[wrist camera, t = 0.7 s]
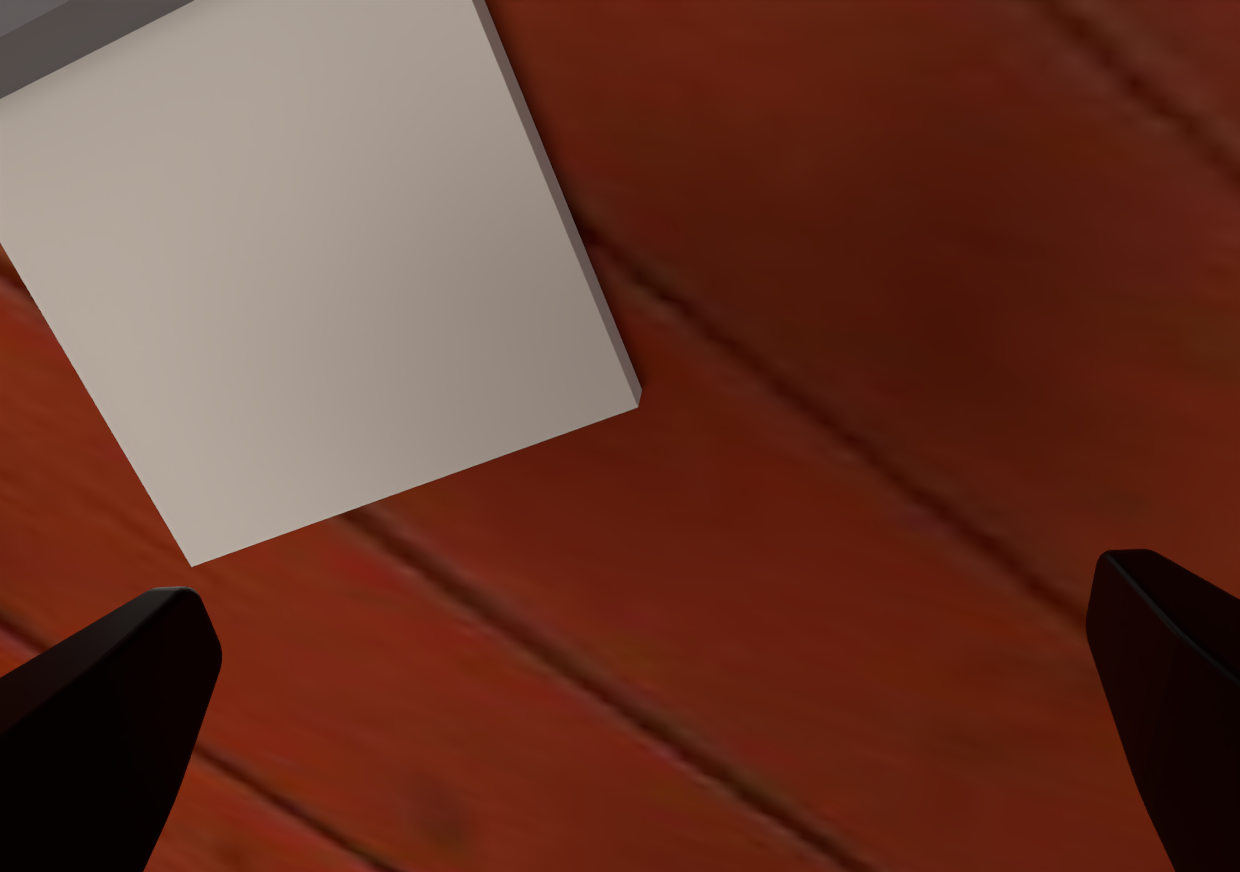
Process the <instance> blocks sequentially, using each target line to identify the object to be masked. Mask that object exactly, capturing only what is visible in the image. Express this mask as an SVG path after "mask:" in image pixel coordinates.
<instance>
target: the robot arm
mask: <svg viewBox="0 0 1240 872" xmlns="http://www.w3.org/2000/svg"><path fill="white" fill-rule="evenodd" d="M1086 634H1087V639H1088V643H1089V647H1090V650H1091V653H1092V656H1093V659H1094V662H1095V665H1096V668H1097V671H1098V674H1099V677H1100V680H1101V683H1102V686H1103V689H1104V692H1105V694H1106V697H1107V700H1108V703H1109V706H1110V709H1111V712H1112V715H1113V718H1114V721H1115V724H1116V727H1117V730H1118V733H1119V736H1120V739H1121V742H1122V745H1123V748H1124V751H1125V754H1126V757H1127V760H1128V763H1129V766H1130V769H1131V772H1132V775H1133V777H1134V780H1135V783H1136V786H1137V788H1138V791H1139V793H1140V795H1141V798H1142V800H1143V802H1144V805H1145V807H1146V809H1147V812H1148V814H1149V816H1150V818H1151V820H1152V823H1153V825H1154V827H1155V829H1156V831H1157V833H1158V835H1159V838H1160V840H1161V842H1162V844H1163V846H1164V848H1165V850H1166V853H1167V855H1168V857H1169V859H1170V861H1171V863H1172V865H1173V867H1174V870H1175V872H1240V599H1238V598H1236V597H1234V596H1233V595H1231V594H1229V593H1227V592H1226V591H1224V590H1222V589H1220V588H1219V587H1217V586H1215V585H1213V584H1211V583H1210V582H1208V581H1206V580H1204V579H1203V578H1201V577H1199V576H1197V575H1196V574H1194V573H1192V572H1190V571H1188V570H1187V569H1185V568H1183V567H1181V566H1180V565H1178V564H1176V563H1174V562H1173V561H1171V560H1169V559H1167V558H1166V557H1164V556H1162V555H1160V554H1158V553H1156V552H1154V551H1152V550H1149V549H1125V550H1108V551H1106V552H1104V553H1103V554H1101V555H1100V557H1099V559H1098V561H1097V564H1096V568H1095V574H1094V579H1093V584H1092V589H1091V594H1090V600H1089V605H1088V610H1087V615H1086ZM221 663H222V650H221V645H220V642H219V639H218V637H217V635H216V632H215V630H214V627H213V625H212V623H211V620H210V618H209V616H208V613H207V611H206V609H205V606H204V604H203V602H202V599H201V597H200V595H199V594H198V593H197V592H196V591H195V590H194V589H192V588H189V587H160V588H154V589H150V590H148V591H146V592H145V593H143V594H141V595H140V596H138V597H136V598H134V599H133V600H131V601H129V602H128V603H126V604H124V605H123V606H121V607H119V608H118V609H116V610H114V611H112V612H111V613H109V614H107V615H106V616H104V617H102V618H101V619H99V620H97V621H96V622H94V623H92V624H91V625H89V626H87V627H85V628H84V629H82V630H80V631H79V632H77V633H75V634H74V635H72V636H70V637H69V638H67V639H65V640H63V641H62V642H60V643H58V644H57V645H55V646H53V647H52V648H50V649H48V650H47V651H45V652H43V653H41V654H40V655H38V656H36V657H35V658H33V659H31V660H30V661H28V662H26V663H25V664H23V665H21V666H19V667H18V668H16V669H14V670H13V671H11V672H9V673H8V674H6V675H4V676H3V677H1V678H0V872H143V871H144V869H145V867H146V865H147V862H148V860H149V858H150V856H151V854H152V852H153V849H154V847H155V845H156V843H157V841H158V838H159V836H160V834H161V832H162V830H163V827H164V825H165V823H166V821H167V818H168V816H169V814H170V811H171V809H172V807H173V804H174V802H175V799H176V797H177V794H178V791H179V789H180V786H181V783H182V781H183V778H184V775H185V772H186V769H187V766H188V763H189V760H190V757H191V754H192V751H193V748H194V746H195V743H196V740H197V737H198V734H199V731H200V728H201V725H202V722H203V719H204V716H205V713H206V710H207V707H208V704H209V701H210V698H211V696H212V693H213V690H214V687H215V684H216V681H217V678H218V675H219V672H220V668H221Z"/></svg>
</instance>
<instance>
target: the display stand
mask: <svg viewBox="0 0 1240 872" xmlns="http://www.w3.org/2000/svg"><path fill="white" fill-rule="evenodd" d="M0 243H1V245H2V246H3V248H4V250H5V251H6V253H7V255H8V256H9V258H10V260H11V262H12V263H13V265H14V267H15V268H16V270H17V272H18V273H19V275H20V277H21V278H22V280H23V282H24V284H25V285H26V287H27V289H28V290H29V292H30V294H31V295H32V297H33V299H34V301H35V302H36V304H37V306H38V307H39V309H40V311H41V312H42V314H43V316H44V317H45V319H46V321H47V323H48V324H49V326H50V328H51V329H52V331H53V333H54V334H55V336H56V338H57V340H58V341H59V343H60V345H61V346H62V348H63V350H64V351H65V353H66V355H67V357H68V358H69V360H70V362H71V363H72V365H73V367H74V368H75V370H76V372H77V373H78V375H79V377H80V379H81V380H82V382H83V384H84V385H85V387H86V389H87V390H88V392H89V394H90V396H91V397H92V399H93V401H94V402H95V404H96V406H97V407H98V409H99V411H100V412H101V414H102V416H103V418H104V419H105V421H106V423H107V424H108V426H109V428H110V429H111V431H112V433H113V435H114V436H115V438H116V440H117V441H118V443H119V445H120V446H121V448H122V450H123V452H124V453H125V455H126V457H127V458H128V460H129V462H130V463H131V465H132V467H133V468H134V470H135V472H136V474H137V475H138V477H139V479H140V480H141V482H142V484H143V485H144V487H145V489H146V491H147V492H148V494H149V496H150V497H151V499H152V501H153V502H154V504H155V506H156V507H157V509H158V511H159V513H160V514H161V516H162V518H163V519H164V521H165V523H166V524H167V526H168V528H169V530H170V531H171V533H172V535H173V536H174V538H175V540H176V541H177V543H178V545H179V547H180V548H181V550H182V552H183V553H184V555H185V557H186V558H187V560H188V562H189V563H190V565H191V567H193V566H195V565H198V564H201V563H204V562H207V561H209V560H212V559H215V558H218V557H221V556H223V555H226V554H229V553H232V552H235V551H237V550H240V549H243V548H246V547H249V546H251V545H254V544H257V543H260V542H262V541H265V540H268V539H271V538H274V537H276V536H279V535H282V534H285V533H288V532H290V531H293V530H296V529H299V528H302V527H304V526H307V525H310V524H313V523H316V522H318V521H321V520H324V519H327V518H330V517H332V516H335V515H338V514H341V513H344V512H346V511H349V510H352V509H355V508H358V507H360V506H363V505H366V504H369V503H372V502H374V501H377V500H380V499H383V498H386V497H388V496H391V495H394V494H397V493H400V492H402V491H405V490H408V489H411V488H414V487H416V486H419V485H422V484H425V483H428V482H430V481H433V480H436V479H439V478H442V477H444V476H447V475H450V474H453V473H455V472H458V471H461V470H464V469H467V468H469V467H472V466H475V465H478V464H481V463H483V462H486V461H489V460H492V459H495V458H497V457H500V456H503V455H506V454H509V453H511V452H514V451H517V450H520V449H523V448H525V447H528V446H531V445H534V444H537V443H539V442H542V441H545V440H548V439H551V438H553V437H556V436H559V435H562V434H565V433H567V432H570V431H573V430H576V429H579V428H581V427H584V426H587V425H590V424H593V423H595V422H598V421H601V420H604V419H607V418H609V417H612V416H615V415H618V414H621V413H623V412H626V411H629V410H632V409H635V408H637V407H638V405H639V401H640V397H641V393H642V388H641V386H640V383H639V381H638V379H637V376H636V374H635V371H634V369H633V366H632V364H631V361H630V359H629V356H628V354H627V351H626V349H625V346H624V344H623V341H622V339H621V337H620V334H619V332H618V329H617V327H616V324H615V322H614V319H613V317H612V314H611V312H610V309H609V307H608V304H607V302H606V299H605V297H604V295H603V292H602V290H601V287H600V285H599V282H598V280H597V277H596V275H595V272H594V270H593V267H592V265H591V262H590V260H589V257H588V255H587V252H586V250H585V248H584V245H583V243H582V240H581V238H580V235H579V233H578V230H577V228H576V225H575V223H574V220H573V218H572V215H571V213H570V210H569V208H568V206H567V203H566V201H565V198H564V196H563V193H562V191H561V188H560V186H559V183H558V181H557V178H556V176H555V173H554V171H553V168H552V166H551V164H550V161H549V159H548V156H547V154H546V151H545V149H544V146H543V144H542V141H541V139H540V136H539V134H538V131H537V129H536V126H535V124H534V122H533V119H532V117H531V114H530V112H529V109H528V107H527V104H526V102H525V99H524V97H523V94H522V92H521V89H520V87H519V84H518V82H517V79H516V77H515V75H514V72H513V70H512V67H511V65H510V62H509V60H508V57H507V55H506V52H505V50H504V47H503V45H502V42H501V40H500V37H499V35H498V33H497V30H496V28H495V25H494V23H493V20H492V18H491V15H490V13H489V10H488V8H487V5H486V3H485V0H0Z"/></svg>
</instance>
